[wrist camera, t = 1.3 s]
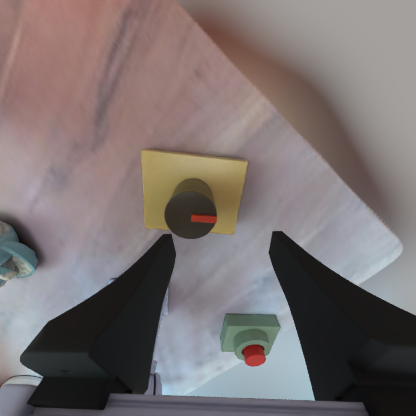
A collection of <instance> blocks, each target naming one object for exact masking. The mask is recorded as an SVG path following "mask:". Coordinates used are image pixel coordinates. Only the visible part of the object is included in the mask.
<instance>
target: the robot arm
mask: <svg viewBox="0 0 416 416" xmlns="http://www.w3.org/2000/svg"><path fill="white" fill-rule="evenodd" d="M269 255H270V259H271V262H272V266H273V268H274V271H275V273H276V276H277V278H278V280H279V283H280V285H281V287H282V290H283V292H284V294H285V297H286V299H287V302H288V305H289V308H290V311H291V314H292V317H293V320H294V323H295V327H296V330H297V333H298V337H299V340H300V344H301V347H302V351H303V355H304V358H305V361H306V365H307V370H308V373H309V378H310V381H311V385H312V390H313V394H314V398H315V401H310V400H282V399H254V398H227V397H226V398H225V397H200V396H172V395H162V384H161V380H160V376H159V374H158V373H155V369H156V364H157V361H154V360H153V356H154V352H155V347H156V342H157V338H158V333H159V329H160V324H161V319H162V315H167V314H168V285H169V282H170V278H171V275H172V272H173V268H174V263H175V258H176V252H175V247H174V243H173V239H172V234H163V235H162V236H161V237H160V238H159V239H158V240H157V241H156V242H155V243H154V245H153V246H152V247H151V248H150V249H149V250H148V251H147V252H146V253H145V254H144V255H143V256H142V257H141V258H140V259H139V260H138V261H137V262H136V263H134V264H133V265H132V266H131V267H130V268H129V269H128V270H127V271H125V272H124V273H123V274H122V275H120V276H119V277H118V278H117V279H110V280H109V281H108V285H107V286H106V287H104V288H103V289H102V290H100V291H99V292H97V293H96V294H94V295H93V296H91V297H90V298H88V299H86V300H85V301H83V302H82V303H80V304H78V305H77V306H75V307H73V308H72V309H70V310H68V311H66V312H65V313H63V314H61V315H59V316H58V317H56V318H54V319H52V320H50V321H49V322H48V323H47V324H46V325H45V326H44V327H43V329H42V330H41V331H40V332H39V334H38V335H37V336H36V337H35V339H34V340H33V341H32V342H31V343H30V345H29V346H28V347H27V348H26V350H25V351H24V352H23V353H22V355H21V356H20V362H21V363H22V364H23V365H24V366H26V367H27V368H29V369H31V370H33V371H34V372H36V373H38V374H40V375H41V376H43V379H42V380H41V382H40V383H39V385H38V386H36V385H31V384H5V385H3V386H2V388H1V389H0V416H416V316H415V315H413V314H411V313H409V312H407V311H405V310H403V309H400V308H398V307H396V306H394V305H392V304H390V303H388V302H386V301H384V300H382V299H381V298H379V297H376V296H374V295H373V294H371V293H369V292H367V291H365V290H364V289H362V288H360V287H358V286H357V285H355V284H353V283H352V282H350V281H348V280H346V279H345V278H343V277H342V276H340V275H339V274H337V273H335V272H334V271H332V270H331V269H329V268H328V267H326V266H325V265H323V264H322V263H321V262H319V261H318V260H317V259H315V258H314V257H313V256H311V255H310V254H309V253H307V252H306V251H305V250H304V249H302V248H301V247H300V246H299V245H298V244H296V243H295V242H294V241H293V240H292V239H291V238H289V237H288V236H287V235H286V234H285V233H283V232H282V231H273V232H272V238H271V243H270V249H269Z"/></svg>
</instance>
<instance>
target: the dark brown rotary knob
mask: <svg viewBox="0 0 416 416" xmlns="http://www.w3.org/2000/svg"><path fill="white" fill-rule="evenodd" d="M164 218H165V222H166V224H167V226H168V228H169V229H170V230H171V231H172V232H173V233H174V234H176V235H177V236H179V237H182V238H186V239H196V238H200V237H203V236H205V235H206V234H208V233H209V232H210V231H211V230H212V229H213V227H214V225H215V223H216V221H217V211H216V207H215V203H214V199H213V195H212V191H211V189H210V187H209V186H208V185H207V184H206V183H205V182H204V181H202V180H200V179H195V178H190V179H186V180H183V181H182V182H180V183H179V184H178V185H177V186H176V188H175V190H174V192H173V194H172V195H171V197H170V199H169V201H168V203H167V205H166V207H165V211H164Z"/></svg>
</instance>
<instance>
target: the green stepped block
mask: <svg viewBox="0 0 416 416" xmlns="http://www.w3.org/2000/svg"><path fill="white" fill-rule="evenodd" d="M279 330H280V324H279V322H278V320H277V317H276V315H247V314H226V317H225V321H224V325H223V330H222V334H221V338H220V341H221V350H222V352H235V355H236V356H237V358H238V359H241V360H244V361H245V359H244V354H243V349H244V348H245V347H246V346H249V345H252V344H259V345H261V346H262V348H263V351H264V355H265V356H266V355H268V354H269V352H270V350H271V347H272V345H273V343H274V341H275V339H276V336H277V334H278V332H279Z"/></svg>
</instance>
